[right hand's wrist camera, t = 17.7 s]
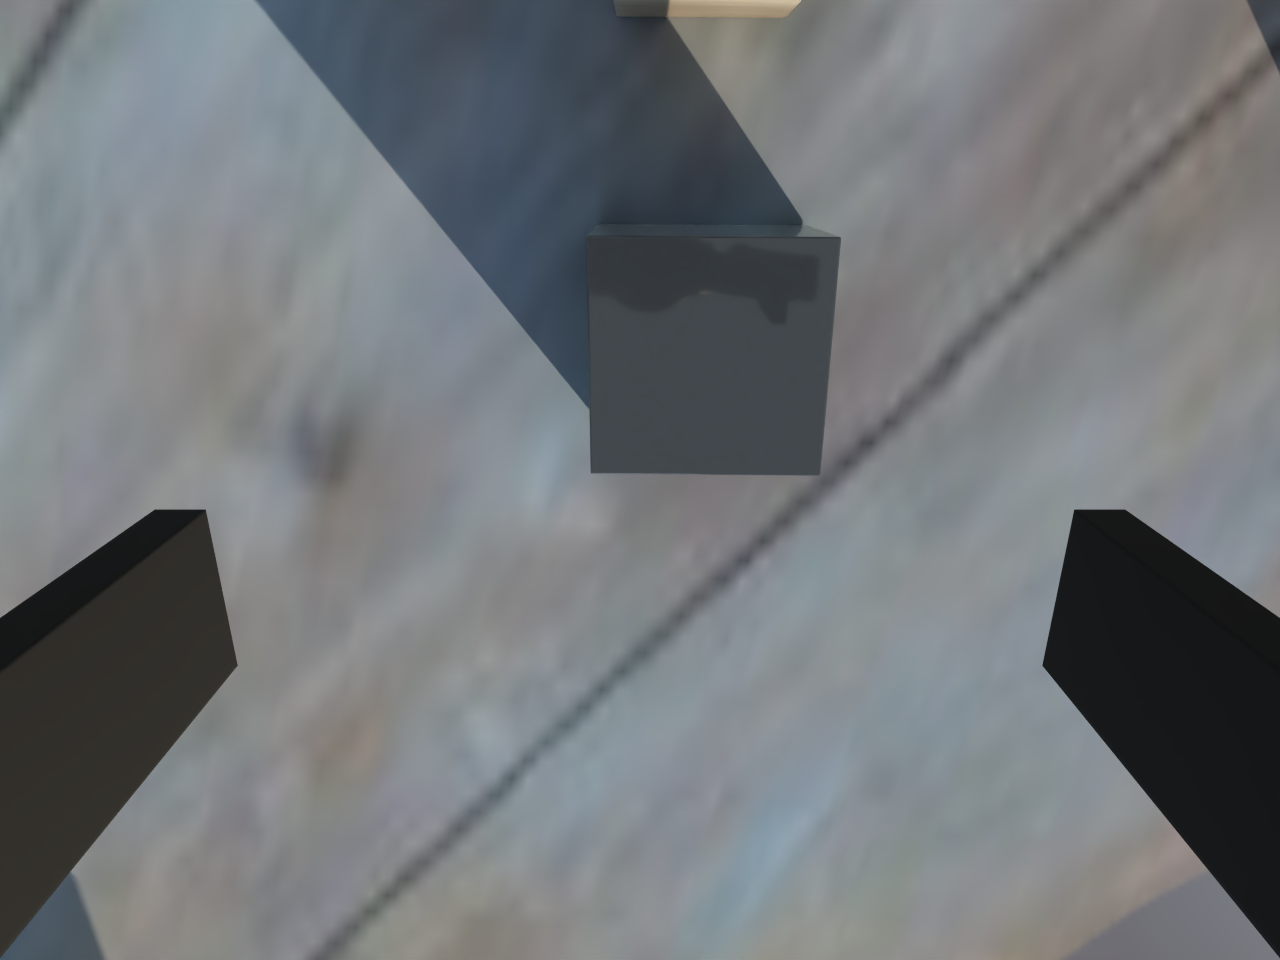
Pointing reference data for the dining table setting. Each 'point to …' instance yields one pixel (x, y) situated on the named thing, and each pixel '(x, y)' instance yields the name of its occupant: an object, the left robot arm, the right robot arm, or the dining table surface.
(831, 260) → the slate block
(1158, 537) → the right robot arm
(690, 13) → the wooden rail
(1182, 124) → the dining table surface
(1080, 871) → the dining table surface
